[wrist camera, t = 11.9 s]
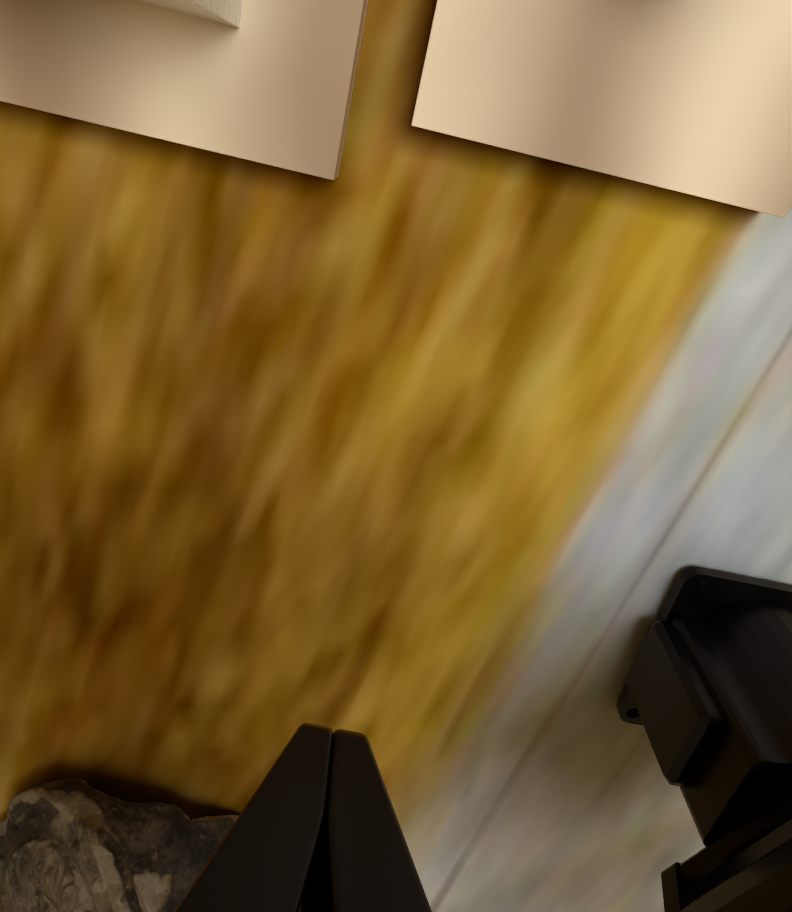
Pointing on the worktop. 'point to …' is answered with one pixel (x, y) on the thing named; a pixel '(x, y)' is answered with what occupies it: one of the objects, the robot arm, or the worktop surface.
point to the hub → (193, 73)
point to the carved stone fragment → (100, 851)
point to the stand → (623, 89)
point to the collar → (203, 9)
